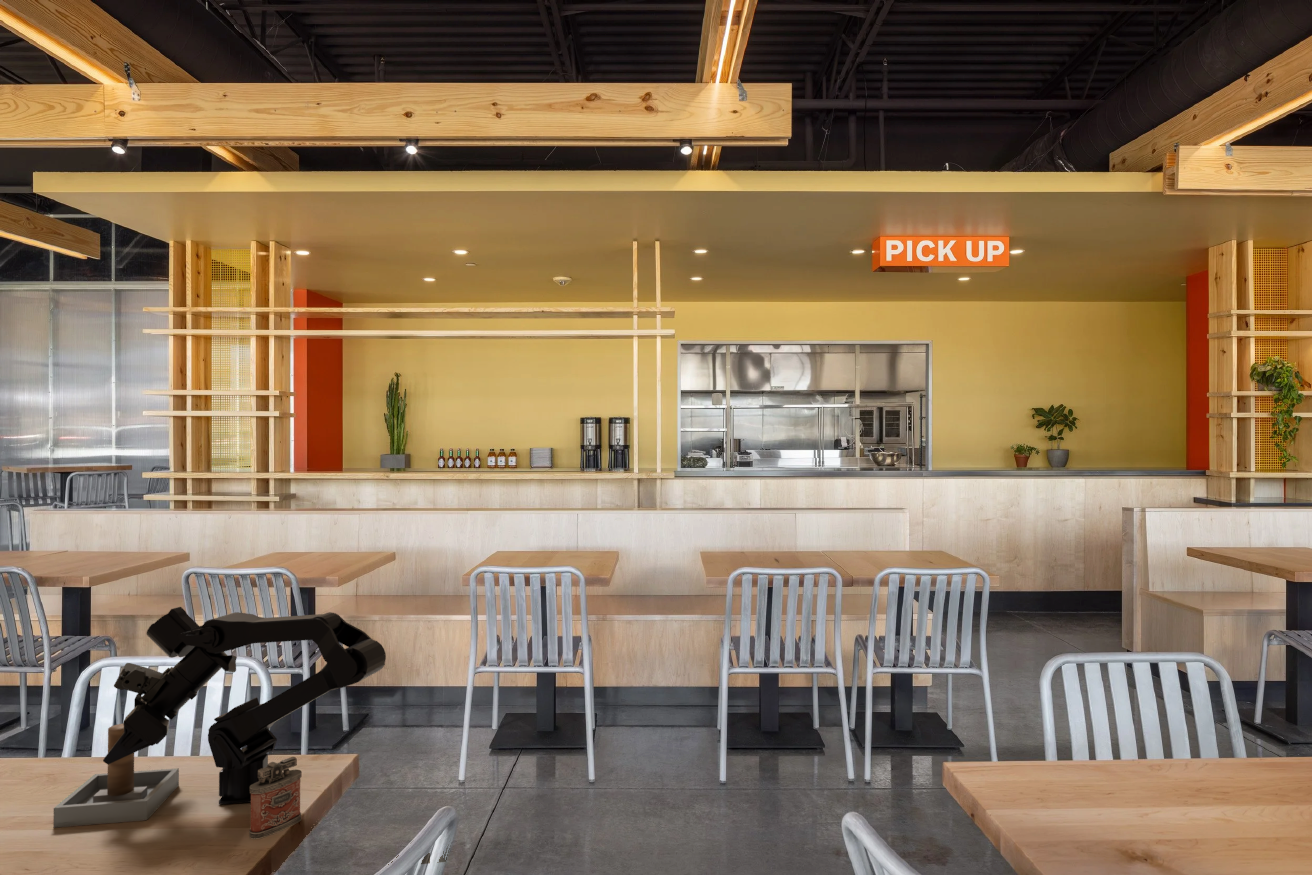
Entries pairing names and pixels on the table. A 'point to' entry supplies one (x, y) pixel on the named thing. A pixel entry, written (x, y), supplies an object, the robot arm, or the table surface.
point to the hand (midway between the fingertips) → (110, 752)
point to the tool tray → (85, 812)
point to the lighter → (275, 799)
